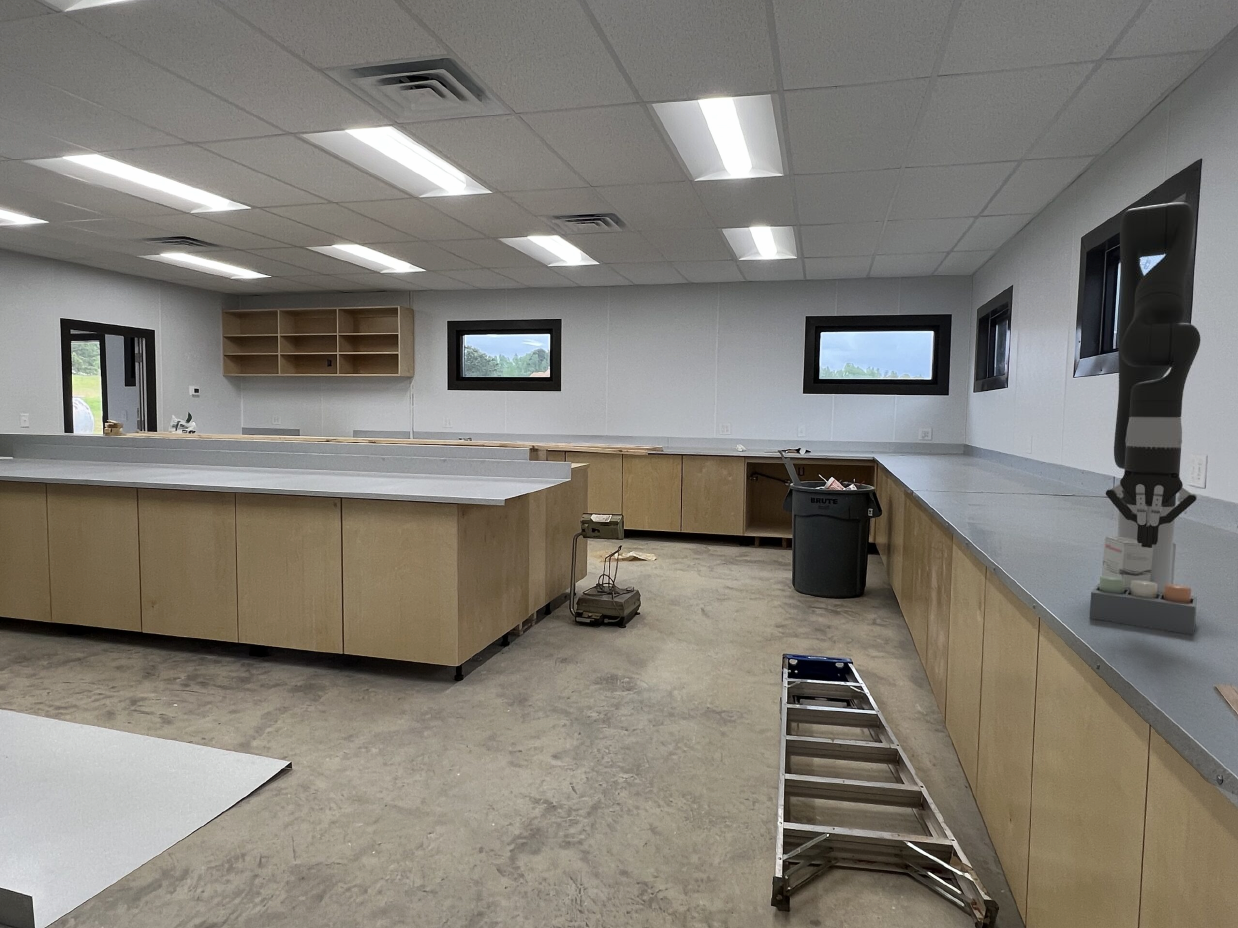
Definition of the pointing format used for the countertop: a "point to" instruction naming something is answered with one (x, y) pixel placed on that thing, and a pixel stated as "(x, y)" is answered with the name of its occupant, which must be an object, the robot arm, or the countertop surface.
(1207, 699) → the countertop surface
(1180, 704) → the countertop surface
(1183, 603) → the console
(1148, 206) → the robot arm
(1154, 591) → the cream button
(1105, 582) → the sage button
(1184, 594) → the terracotta button
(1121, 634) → the countertop surface
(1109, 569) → the ink box
